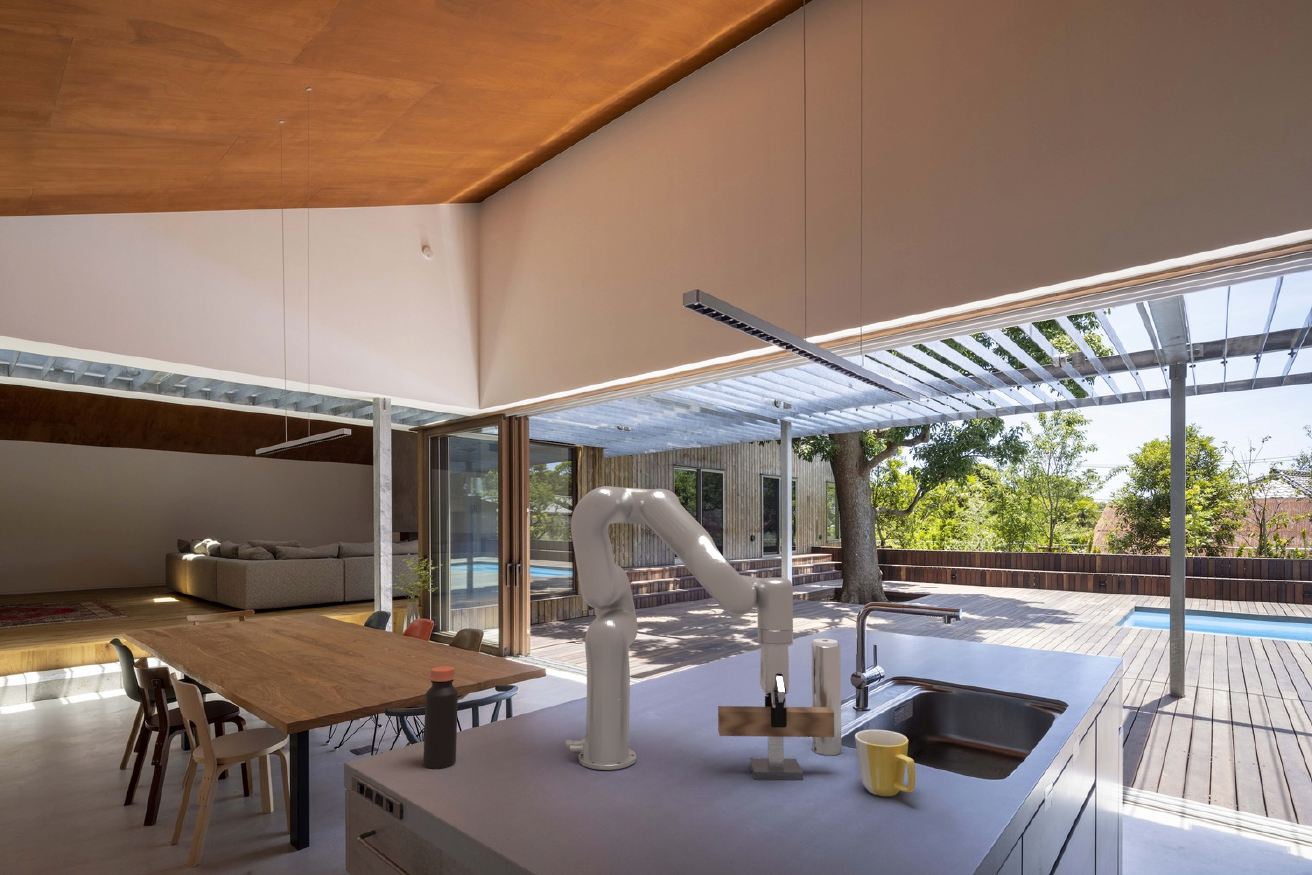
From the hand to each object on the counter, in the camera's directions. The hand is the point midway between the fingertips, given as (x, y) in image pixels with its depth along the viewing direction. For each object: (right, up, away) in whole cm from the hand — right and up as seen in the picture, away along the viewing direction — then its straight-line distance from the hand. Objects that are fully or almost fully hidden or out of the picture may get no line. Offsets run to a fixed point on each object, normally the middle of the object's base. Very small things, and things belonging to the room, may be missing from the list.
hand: (775, 720), depth 156 cm
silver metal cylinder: (+14, -12, +13) cm, 23 cm away
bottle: (-72, -10, +2) cm, 73 cm away
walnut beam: (0, -3, 0) cm, 3 cm away
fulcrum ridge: (0, -11, -1) cm, 11 cm away
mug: (+20, -10, -12) cm, 25 cm away
